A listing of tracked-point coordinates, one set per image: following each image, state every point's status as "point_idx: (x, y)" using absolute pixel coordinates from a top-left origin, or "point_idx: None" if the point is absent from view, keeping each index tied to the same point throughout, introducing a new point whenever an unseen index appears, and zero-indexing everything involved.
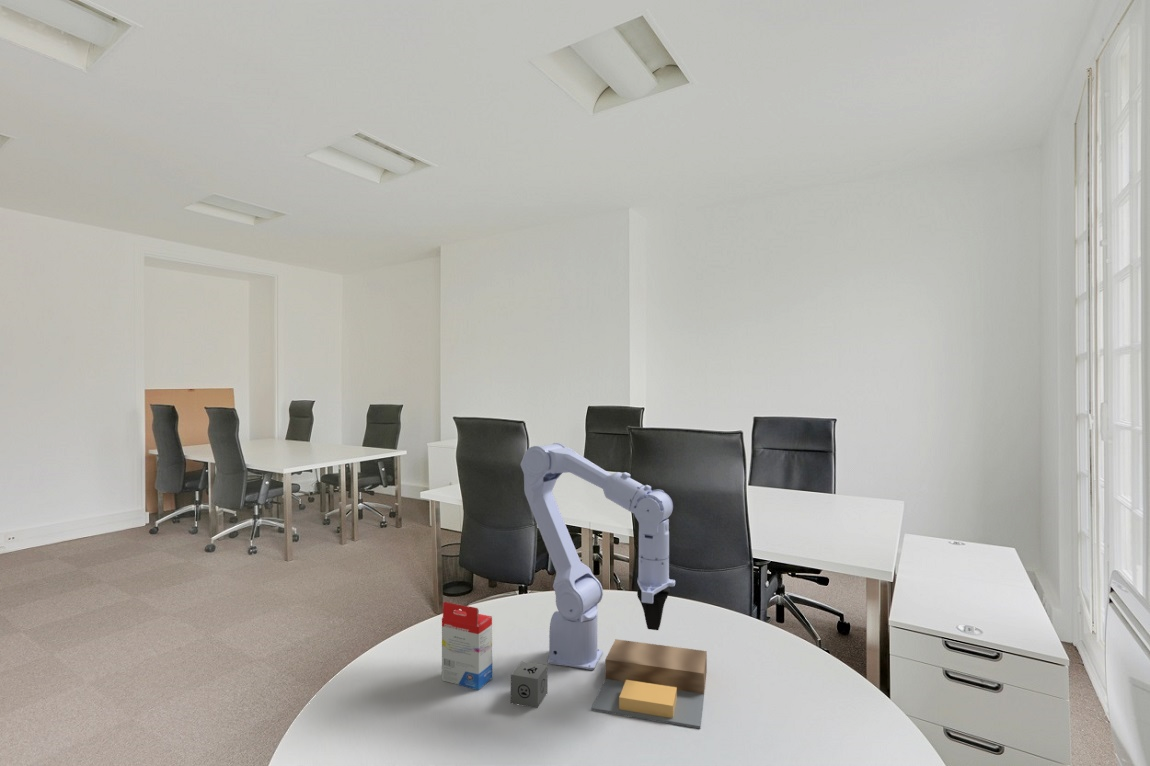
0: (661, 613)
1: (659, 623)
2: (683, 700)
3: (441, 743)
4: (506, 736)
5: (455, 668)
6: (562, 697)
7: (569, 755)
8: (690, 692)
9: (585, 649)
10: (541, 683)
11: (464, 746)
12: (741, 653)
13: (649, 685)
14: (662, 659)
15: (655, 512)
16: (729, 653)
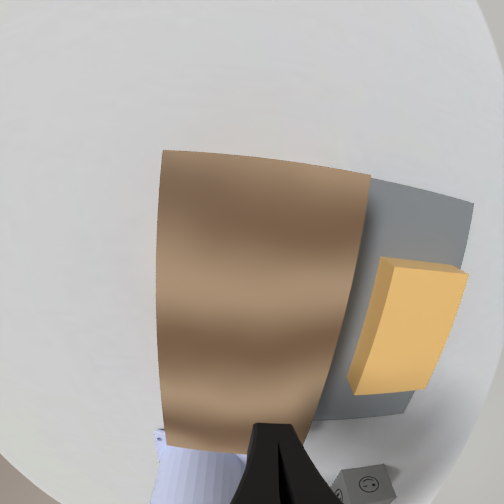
0: (315, 490)
1: (302, 447)
2: (387, 238)
3: (429, 486)
4: (435, 459)
5: None
6: (356, 453)
7: (486, 393)
8: None
9: (234, 480)
10: (375, 488)
11: (440, 473)
12: (54, 62)
13: (383, 341)
14: (278, 330)
15: None
16: (55, 93)
